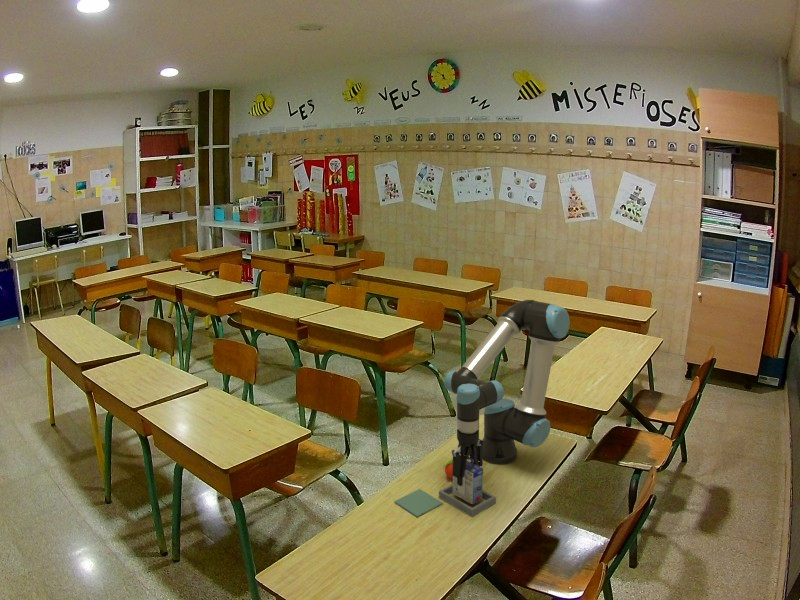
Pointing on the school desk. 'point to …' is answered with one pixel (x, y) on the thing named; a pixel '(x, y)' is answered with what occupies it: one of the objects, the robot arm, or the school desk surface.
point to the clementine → (449, 469)
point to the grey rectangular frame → (463, 507)
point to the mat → (418, 503)
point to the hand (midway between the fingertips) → (467, 489)
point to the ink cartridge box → (471, 483)
